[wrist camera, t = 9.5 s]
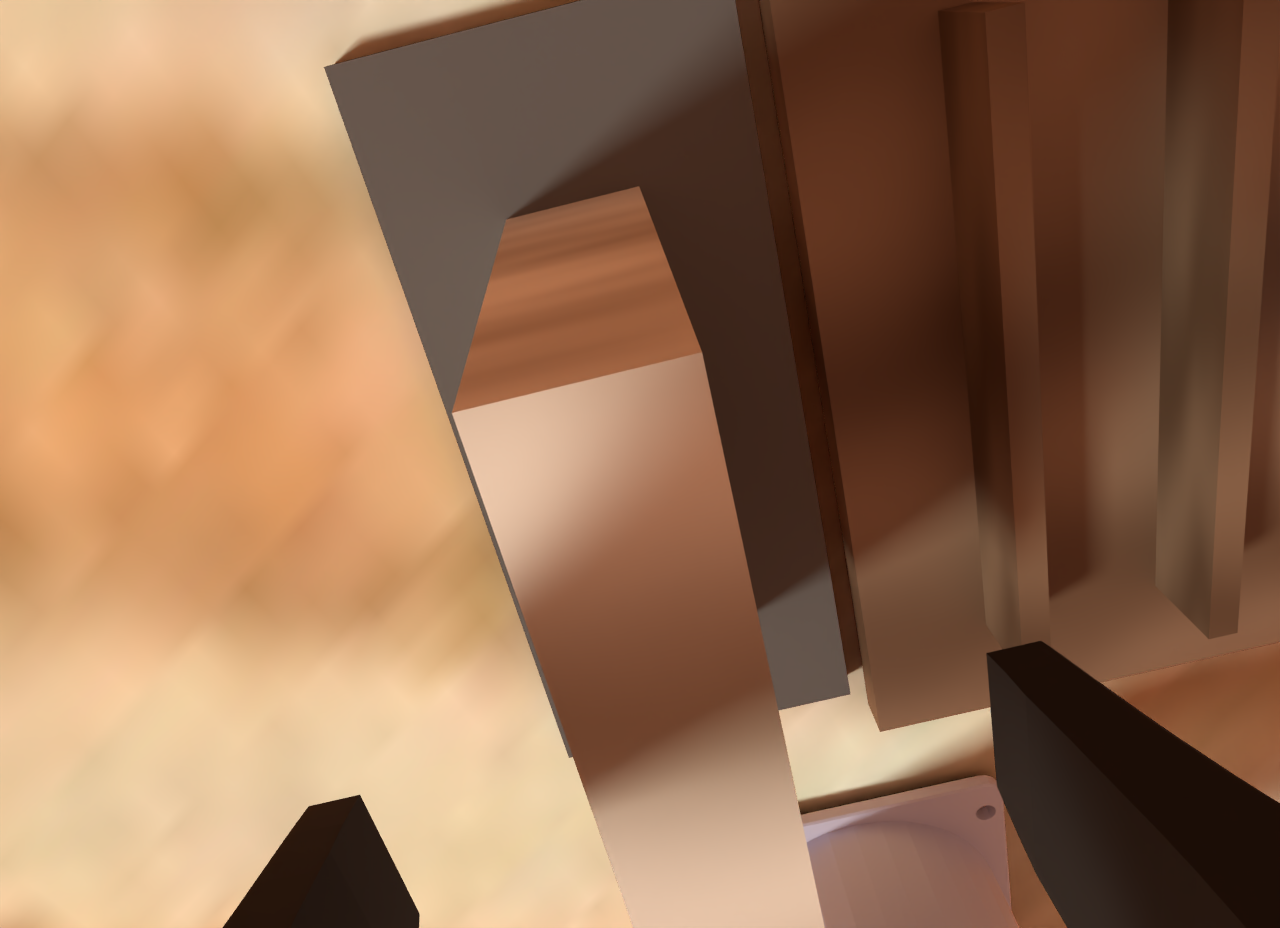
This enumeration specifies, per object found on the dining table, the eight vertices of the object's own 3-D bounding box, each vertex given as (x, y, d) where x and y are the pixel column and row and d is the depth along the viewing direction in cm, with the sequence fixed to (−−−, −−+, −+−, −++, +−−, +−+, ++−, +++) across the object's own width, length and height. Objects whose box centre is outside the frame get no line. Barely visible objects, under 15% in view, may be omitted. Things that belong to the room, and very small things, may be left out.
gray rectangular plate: (843, 678, 23) (850, 694, 23) (569, 740, 24) (569, 757, 23) (723, -37, 16) (728, -38, 16) (331, 65, 16) (324, 66, 16)
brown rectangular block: (737, 622, 22) (839, 992, 14) (631, 646, 22) (669, 1029, 14) (639, 186, 17) (702, 351, 9) (506, 219, 17) (452, 412, 9)
